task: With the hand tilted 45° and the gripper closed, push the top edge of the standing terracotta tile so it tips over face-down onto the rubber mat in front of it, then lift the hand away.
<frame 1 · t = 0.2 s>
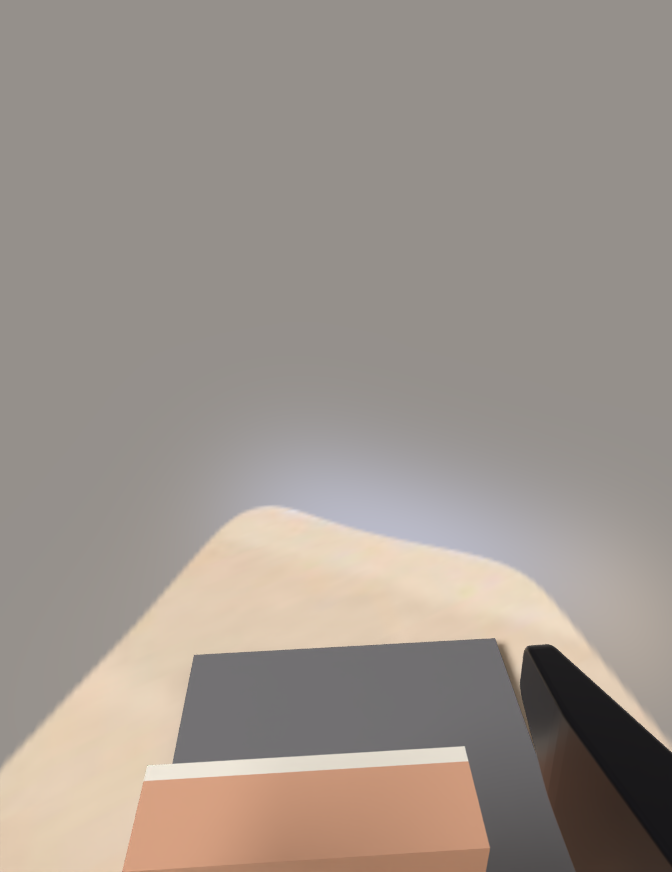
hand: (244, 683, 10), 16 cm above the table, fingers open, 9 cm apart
mat: (353, 758, 26), on the table
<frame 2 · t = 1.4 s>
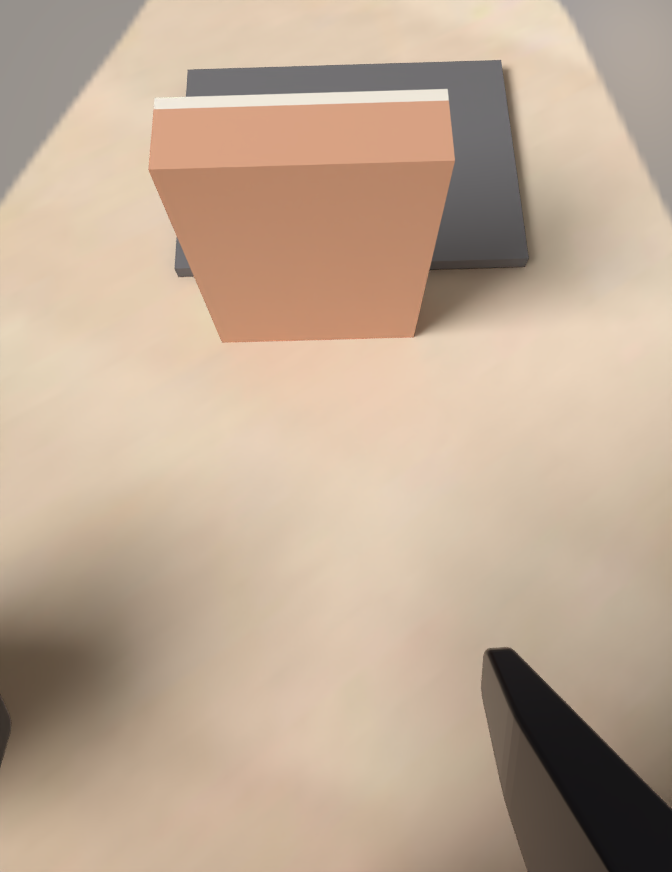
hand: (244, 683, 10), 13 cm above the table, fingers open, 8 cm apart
tile: (317, 314, 26), on the table
mat: (347, 167, 28), on the table
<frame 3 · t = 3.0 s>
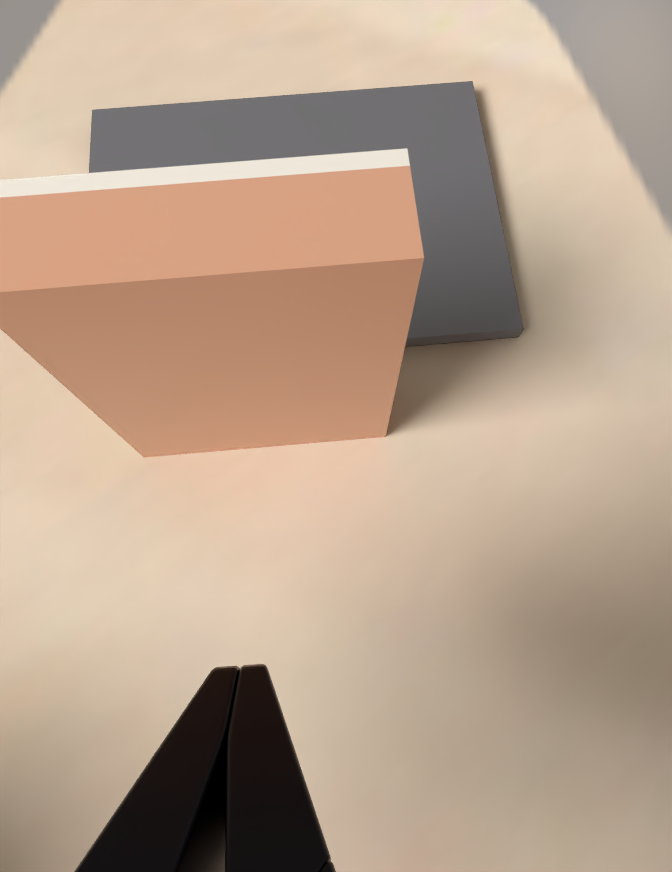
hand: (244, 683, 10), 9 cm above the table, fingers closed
tile: (263, 412, 20), on the table
mat: (293, 222, 23), on the table
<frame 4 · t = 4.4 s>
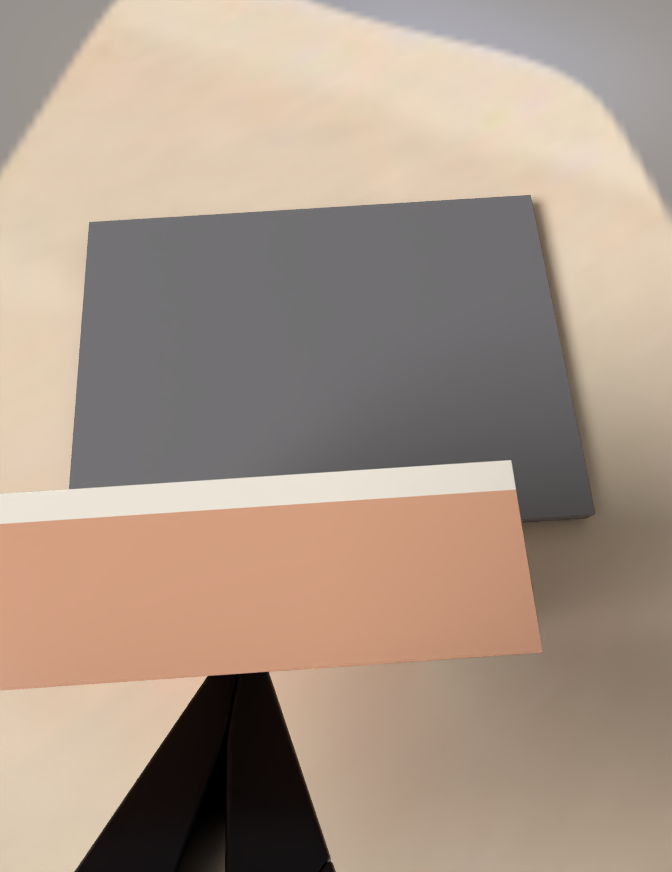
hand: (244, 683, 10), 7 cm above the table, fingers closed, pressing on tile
tile: (282, 609, 17), on the table, touching gripper
mat: (320, 363, 19), on the table
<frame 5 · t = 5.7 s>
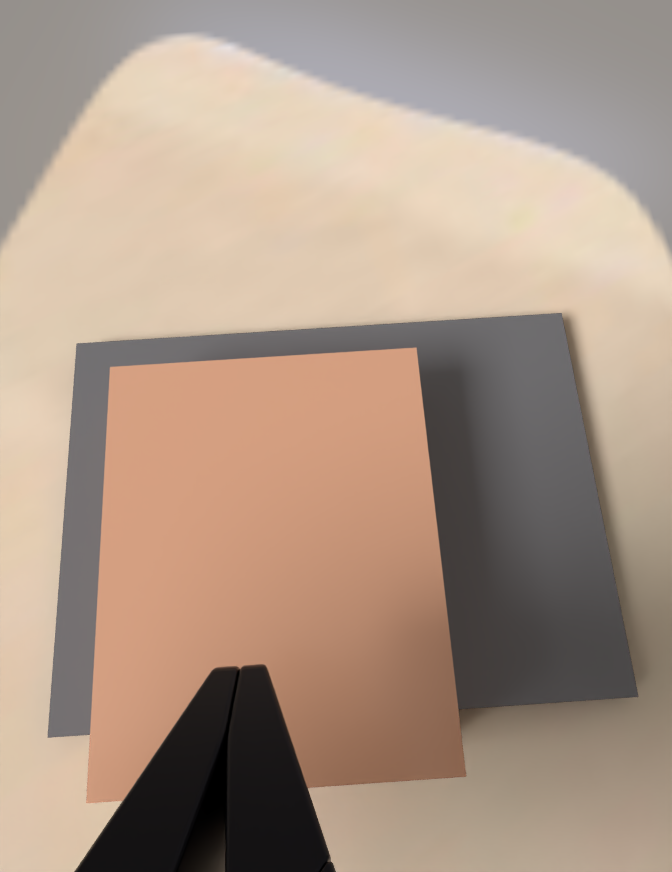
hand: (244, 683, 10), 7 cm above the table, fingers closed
tile: (282, 776, 14), point 2 cm above the table, tilted 90°, touching mat
mat: (331, 507, 18), on the table
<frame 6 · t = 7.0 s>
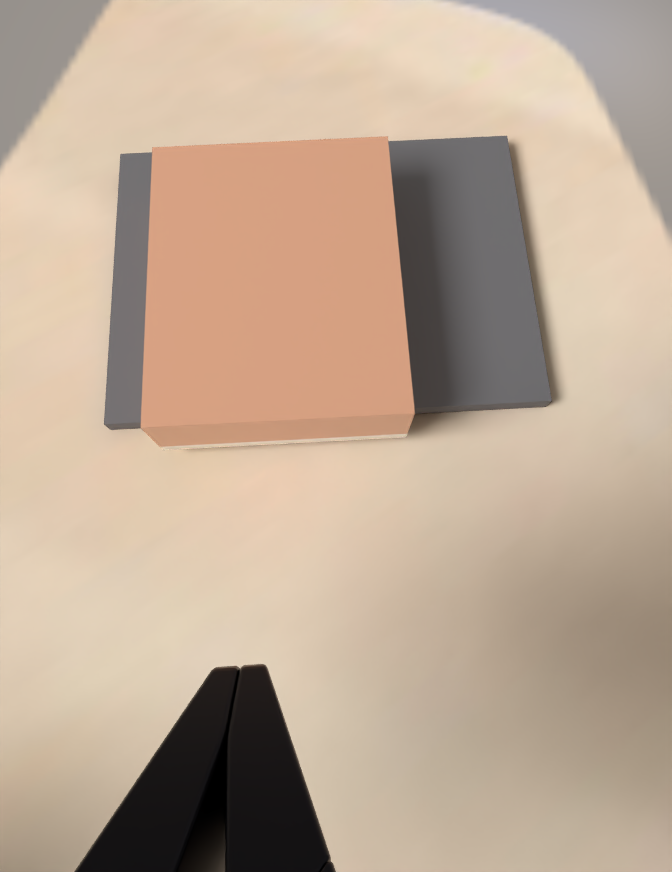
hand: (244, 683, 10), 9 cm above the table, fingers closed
tile: (281, 432, 19), point 2 cm above the table, tilted 90°, touching mat
mat: (321, 277, 22), on the table
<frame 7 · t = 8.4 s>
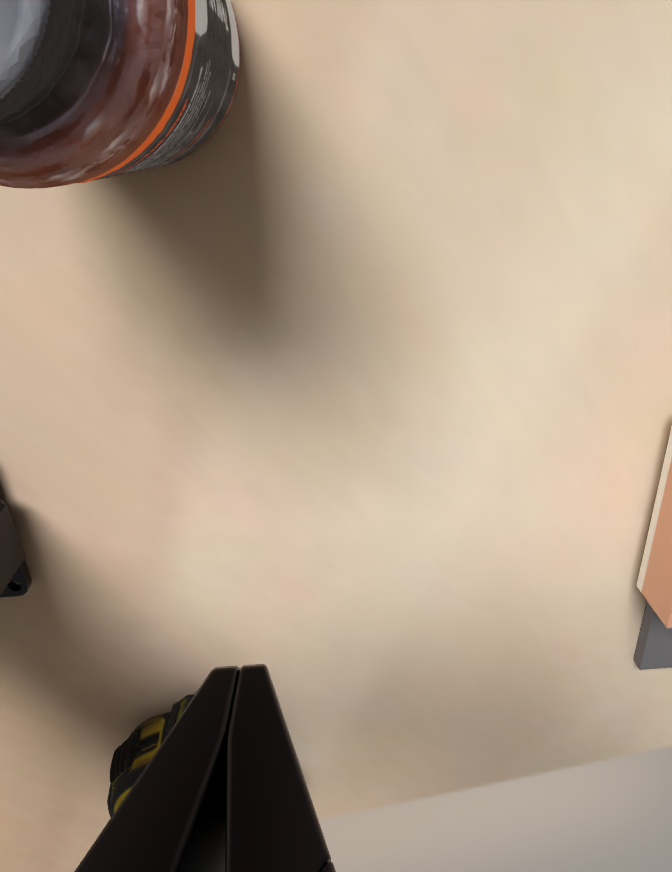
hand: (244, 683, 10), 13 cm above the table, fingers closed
tile: (670, 523, 22), point 2 cm above the table, tilted 90°, touching mat
supplement bottle: (136, 48, 17), on the table
tape measure: (202, 727, 30), on the table
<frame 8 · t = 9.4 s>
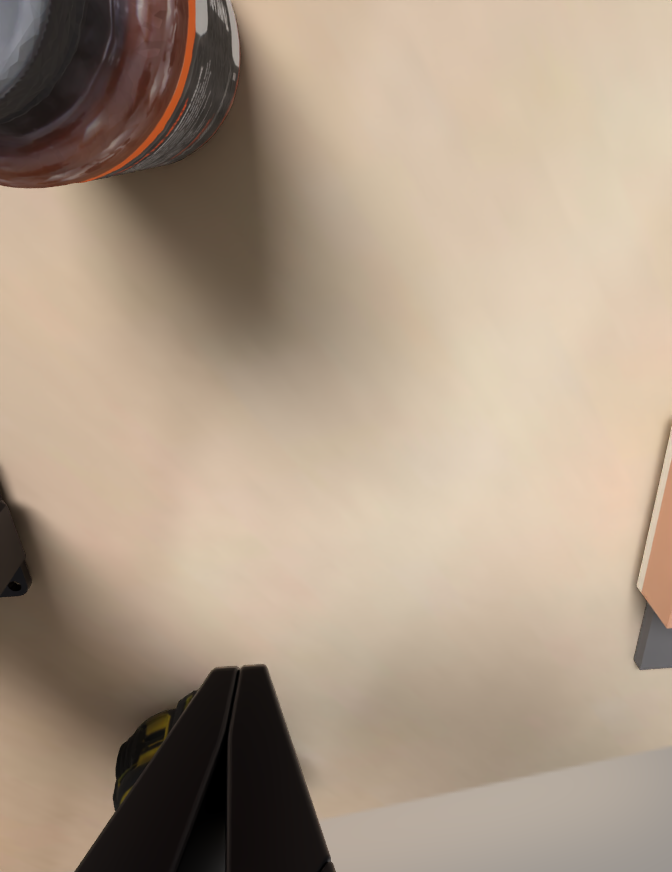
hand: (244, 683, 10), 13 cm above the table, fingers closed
tile: (670, 524, 22), point 2 cm above the table, tilted 90°, touching mat
supplement bottle: (136, 48, 17), on the table
tape measure: (207, 723, 30), on the table
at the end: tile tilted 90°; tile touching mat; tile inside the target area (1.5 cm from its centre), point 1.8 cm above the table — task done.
